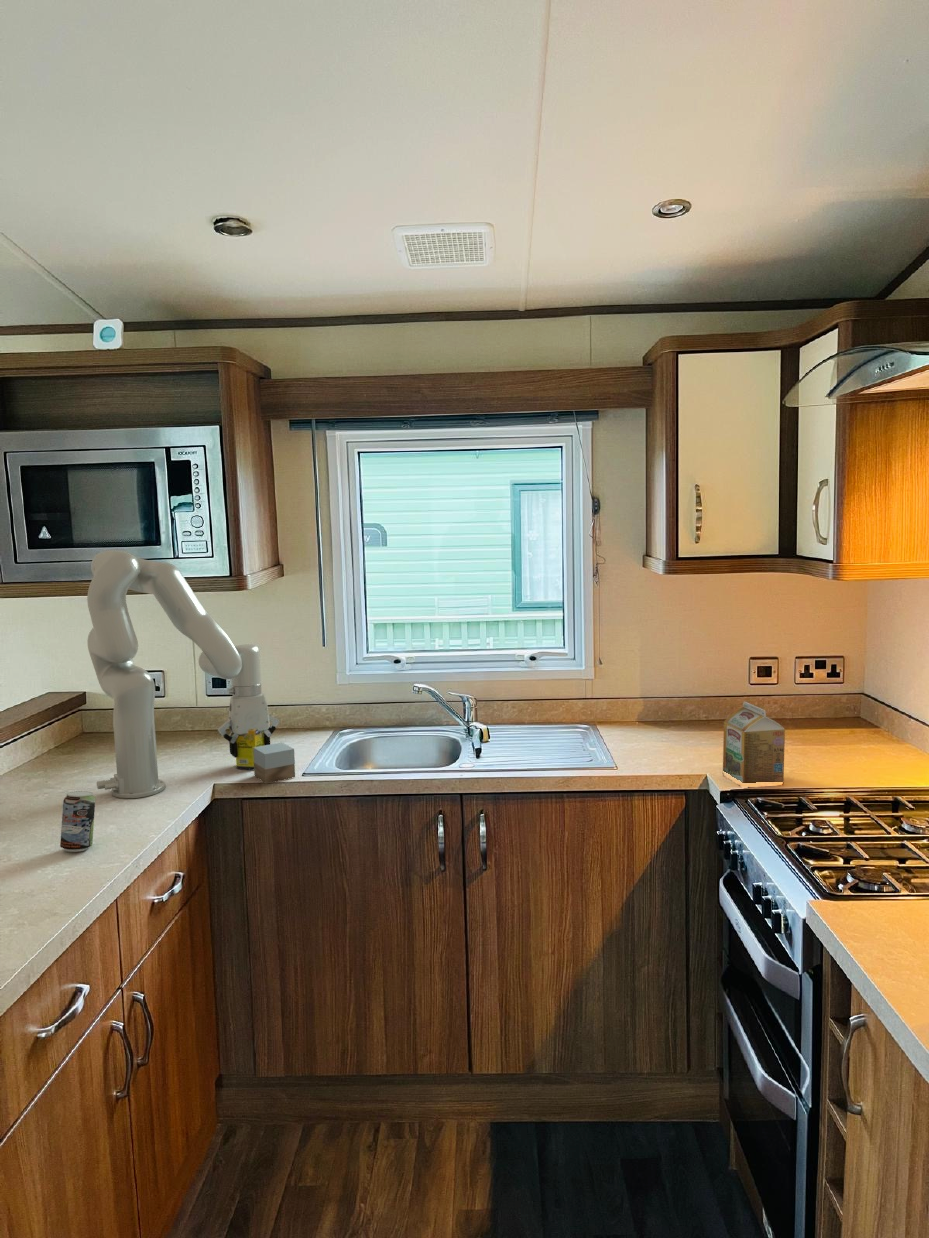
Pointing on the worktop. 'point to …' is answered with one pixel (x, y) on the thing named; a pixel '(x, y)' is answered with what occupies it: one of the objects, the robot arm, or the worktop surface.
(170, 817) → the worktop surface
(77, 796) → the beverage can
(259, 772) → the walnut block
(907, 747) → the worktop surface
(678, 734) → the worktop surface
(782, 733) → the milk carton
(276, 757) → the slate block
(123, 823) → the worktop surface
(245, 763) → the supplement box
